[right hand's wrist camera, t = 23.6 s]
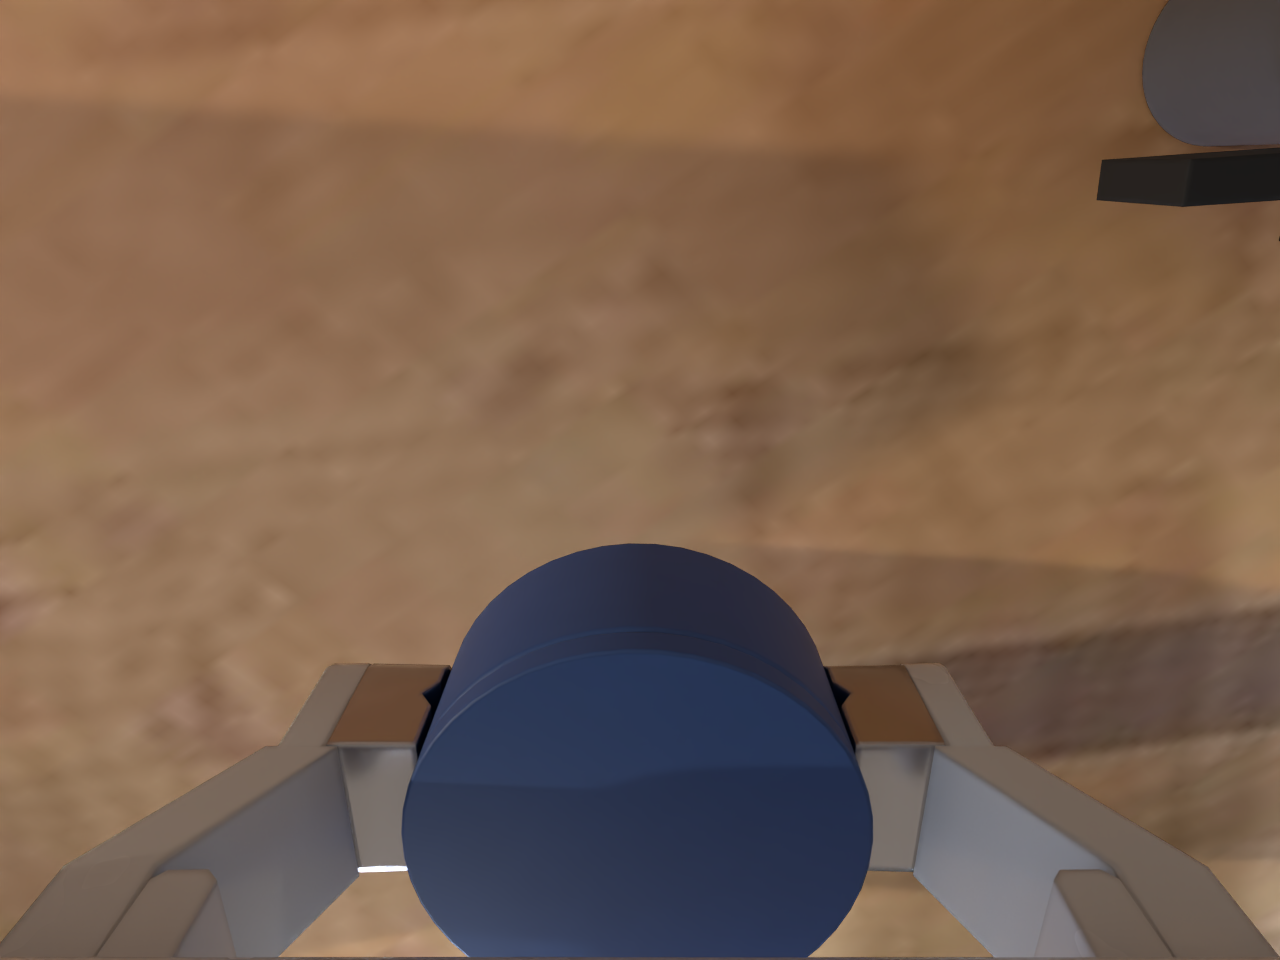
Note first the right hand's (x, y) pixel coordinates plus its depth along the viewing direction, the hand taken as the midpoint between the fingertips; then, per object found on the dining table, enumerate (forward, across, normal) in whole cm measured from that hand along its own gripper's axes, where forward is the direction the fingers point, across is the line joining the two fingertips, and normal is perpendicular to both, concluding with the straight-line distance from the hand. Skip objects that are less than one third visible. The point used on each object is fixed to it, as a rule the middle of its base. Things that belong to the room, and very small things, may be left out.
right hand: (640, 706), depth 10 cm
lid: (-2, 0, 0) cm, 2 cm away
